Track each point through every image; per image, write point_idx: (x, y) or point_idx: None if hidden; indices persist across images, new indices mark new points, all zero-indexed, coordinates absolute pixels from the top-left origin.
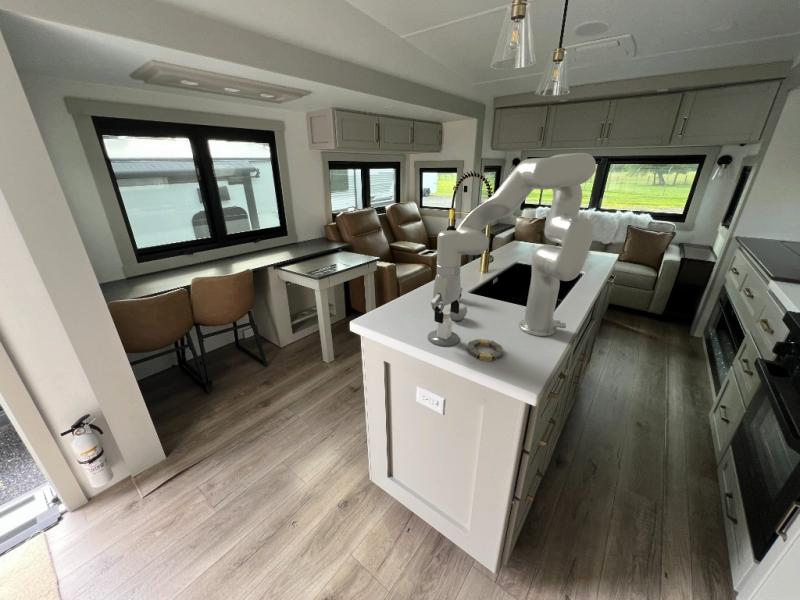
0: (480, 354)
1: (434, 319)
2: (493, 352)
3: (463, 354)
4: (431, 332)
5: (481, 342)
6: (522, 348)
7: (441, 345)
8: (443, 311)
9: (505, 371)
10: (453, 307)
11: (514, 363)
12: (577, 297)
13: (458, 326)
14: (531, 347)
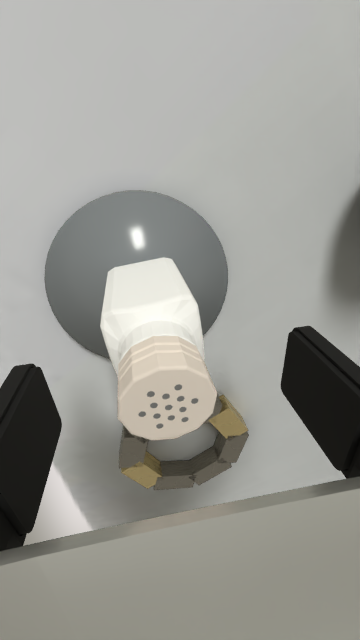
0: (131, 468)
1: (8, 375)
2: (176, 476)
3: (104, 416)
4: (127, 199)
5: (212, 424)
6: (276, 467)
7: (71, 333)
8: (169, 385)
9: (131, 507)
10: (315, 389)
11: (185, 496)
12: None
13: (315, 250)
14: (295, 472)
